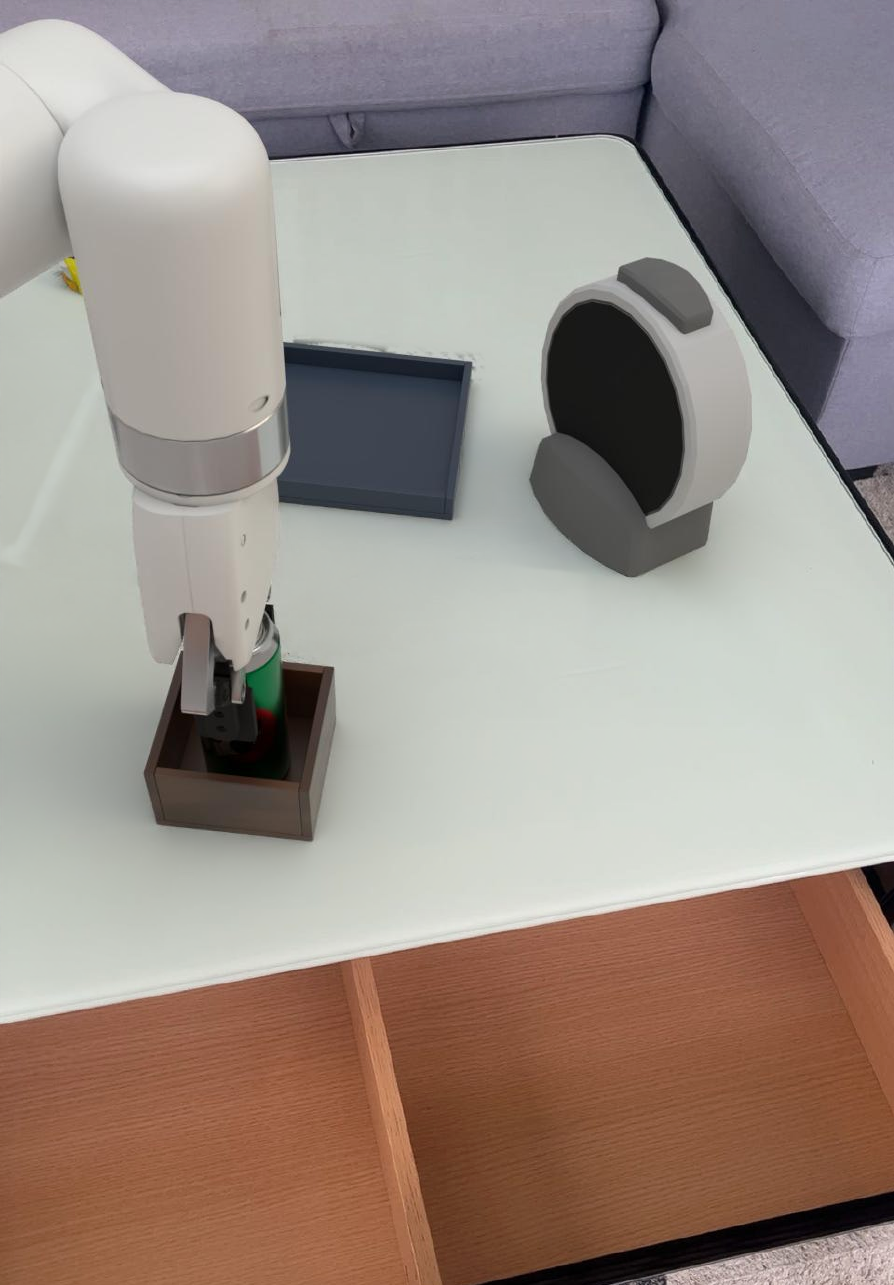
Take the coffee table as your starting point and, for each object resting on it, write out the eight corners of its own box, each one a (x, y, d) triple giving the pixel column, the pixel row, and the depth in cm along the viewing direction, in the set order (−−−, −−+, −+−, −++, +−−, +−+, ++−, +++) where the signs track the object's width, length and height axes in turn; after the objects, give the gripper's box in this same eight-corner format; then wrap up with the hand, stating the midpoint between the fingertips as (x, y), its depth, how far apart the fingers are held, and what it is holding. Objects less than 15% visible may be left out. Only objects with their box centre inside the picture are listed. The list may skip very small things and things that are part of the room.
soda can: (308, 764, 71) (299, 626, 61) (246, 813, 69) (226, 679, 59) (251, 718, 73) (233, 578, 63) (188, 765, 71) (159, 627, 61)
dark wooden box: (156, 824, 69) (142, 773, 65) (191, 703, 74) (180, 649, 70) (312, 841, 69) (309, 792, 65) (336, 719, 74) (334, 666, 70)
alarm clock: (497, 468, 89) (523, 234, 74) (604, 425, 92) (649, 194, 77) (631, 603, 81) (689, 373, 66) (741, 550, 85) (820, 322, 70)
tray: (229, 496, 85) (226, 474, 84) (270, 362, 95) (268, 339, 93) (452, 520, 85) (453, 498, 83) (470, 383, 94) (472, 361, 93)
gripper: (161, 300, 56) (205, 578, 71) (57, 550, 46) (134, 812, 61) (318, 316, 56) (329, 591, 70) (249, 570, 46) (278, 828, 61)
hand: (238, 691), depth 65 cm, fingers closed on soda can, 5 cm apart
